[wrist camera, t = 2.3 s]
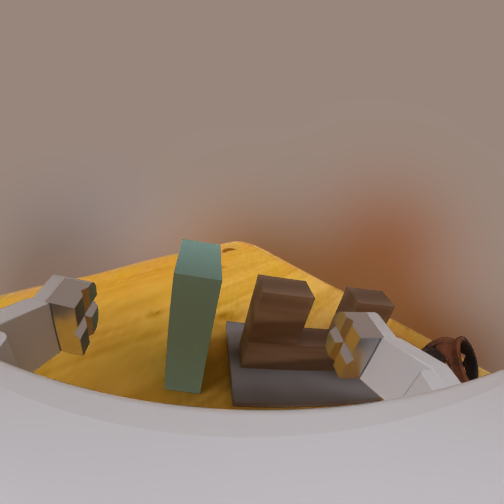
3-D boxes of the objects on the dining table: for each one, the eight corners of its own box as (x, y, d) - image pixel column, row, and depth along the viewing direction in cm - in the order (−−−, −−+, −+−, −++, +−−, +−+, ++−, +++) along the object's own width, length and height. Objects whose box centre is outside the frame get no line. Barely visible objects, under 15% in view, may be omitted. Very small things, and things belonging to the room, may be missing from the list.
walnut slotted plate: (379, 400, 26) (424, 332, 23) (232, 405, 23) (258, 324, 20) (343, 334, 37) (371, 273, 34) (225, 325, 34) (242, 252, 30)
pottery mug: (429, 356, 36) (473, 333, 31) (436, 414, 30) (485, 395, 24) (384, 343, 32) (437, 314, 27) (390, 415, 26) (452, 394, 21)
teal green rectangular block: (200, 393, 24) (222, 280, 19) (164, 389, 23) (173, 273, 19) (200, 349, 29) (220, 245, 25) (170, 345, 28) (182, 239, 24)
